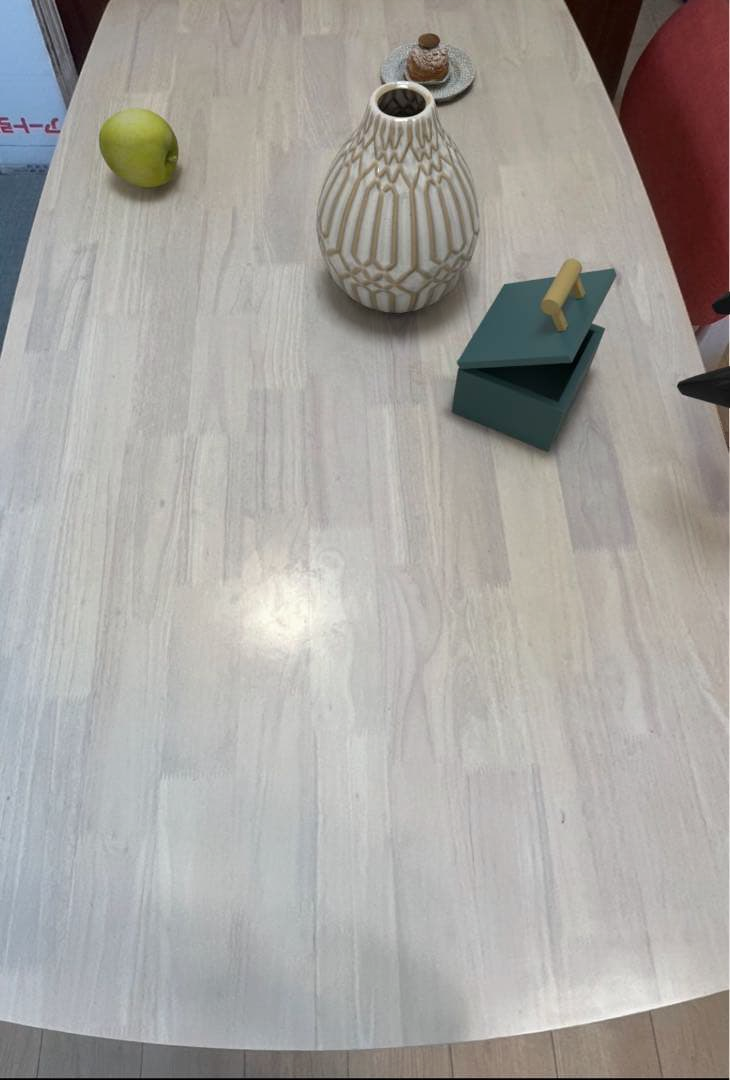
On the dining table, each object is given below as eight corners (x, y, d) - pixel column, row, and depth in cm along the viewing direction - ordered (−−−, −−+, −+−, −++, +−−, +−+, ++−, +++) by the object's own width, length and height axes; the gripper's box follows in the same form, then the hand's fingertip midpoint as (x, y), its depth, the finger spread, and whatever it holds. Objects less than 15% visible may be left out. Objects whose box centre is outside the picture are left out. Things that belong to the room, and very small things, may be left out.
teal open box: (588, 372, 74) (605, 328, 69) (548, 452, 70) (563, 411, 65) (495, 336, 77) (504, 290, 71) (451, 412, 73) (457, 369, 67)
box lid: (617, 275, 64) (602, 233, 61) (571, 362, 60) (554, 321, 57) (507, 290, 71) (490, 253, 68) (460, 369, 67) (439, 332, 64)
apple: (176, 209, 86) (158, 145, 79) (103, 196, 87) (78, 131, 80) (200, 165, 89) (185, 99, 82) (129, 152, 90) (108, 86, 83)
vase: (335, 350, 76) (323, 176, 58) (310, 240, 83) (292, 55, 65) (487, 325, 77) (521, 148, 60) (449, 219, 84) (470, 32, 67)
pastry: (482, 57, 98) (486, 19, 94) (464, 114, 93) (468, 76, 89) (392, 44, 99) (393, 6, 95) (370, 100, 94) (370, 62, 90)
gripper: (924, 92, 47) (688, 191, 59) (862, 289, 40) (606, 355, 52) (971, 234, 52) (744, 298, 65) (923, 431, 45) (678, 461, 57)
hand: (697, 347), depth 60 cm, fingers open, 9 cm apart
